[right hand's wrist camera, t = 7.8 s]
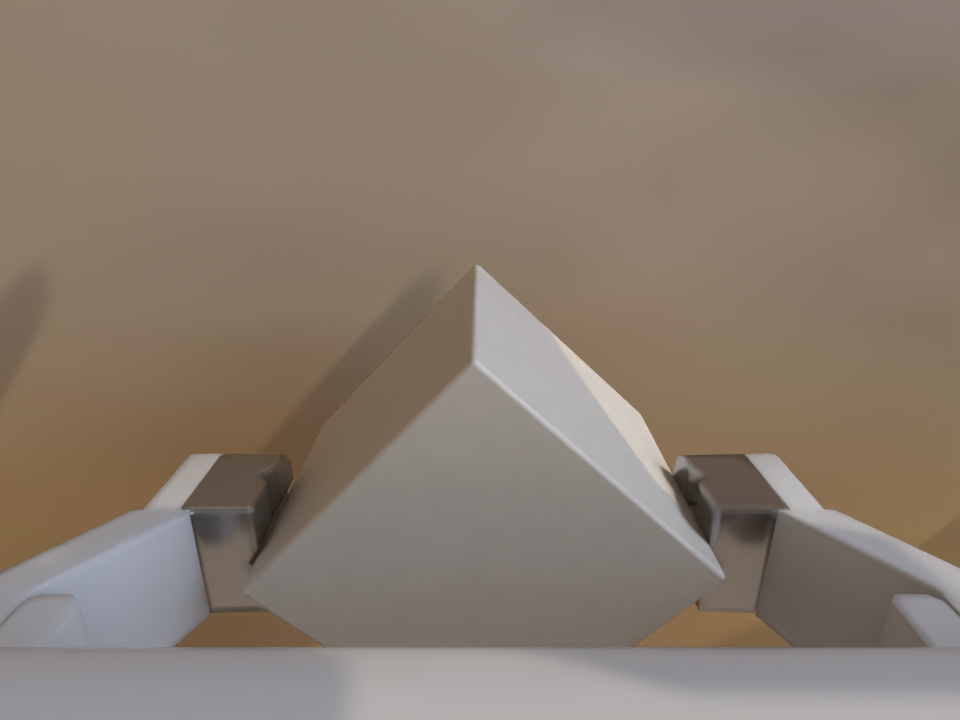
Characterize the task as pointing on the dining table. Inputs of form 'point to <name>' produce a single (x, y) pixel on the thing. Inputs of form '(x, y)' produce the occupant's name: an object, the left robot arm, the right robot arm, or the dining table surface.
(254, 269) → the dining table surface
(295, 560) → the block
